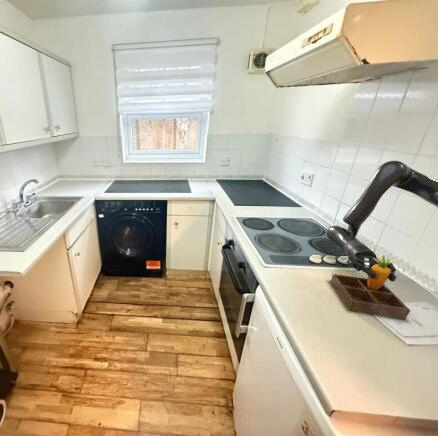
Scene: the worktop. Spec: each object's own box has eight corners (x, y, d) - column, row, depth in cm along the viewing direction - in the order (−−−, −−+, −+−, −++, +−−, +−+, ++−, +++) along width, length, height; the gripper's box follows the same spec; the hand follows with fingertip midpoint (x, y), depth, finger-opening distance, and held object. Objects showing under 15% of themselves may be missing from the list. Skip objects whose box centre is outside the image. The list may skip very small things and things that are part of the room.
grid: (376, 289, 90) (381, 280, 88) (405, 320, 76) (410, 310, 74) (329, 282, 93) (333, 273, 92) (348, 310, 80) (352, 301, 78)
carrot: (379, 299, 84) (397, 263, 78) (361, 292, 87) (376, 258, 81) (379, 292, 87) (396, 257, 81) (361, 286, 90) (377, 252, 84)
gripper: (340, 242, 96) (363, 265, 81) (383, 247, 93) (415, 272, 78) (335, 258, 99) (355, 283, 84) (376, 263, 96) (405, 290, 81)
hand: (384, 277), depth 81 cm, fingers open, 5 cm apart
